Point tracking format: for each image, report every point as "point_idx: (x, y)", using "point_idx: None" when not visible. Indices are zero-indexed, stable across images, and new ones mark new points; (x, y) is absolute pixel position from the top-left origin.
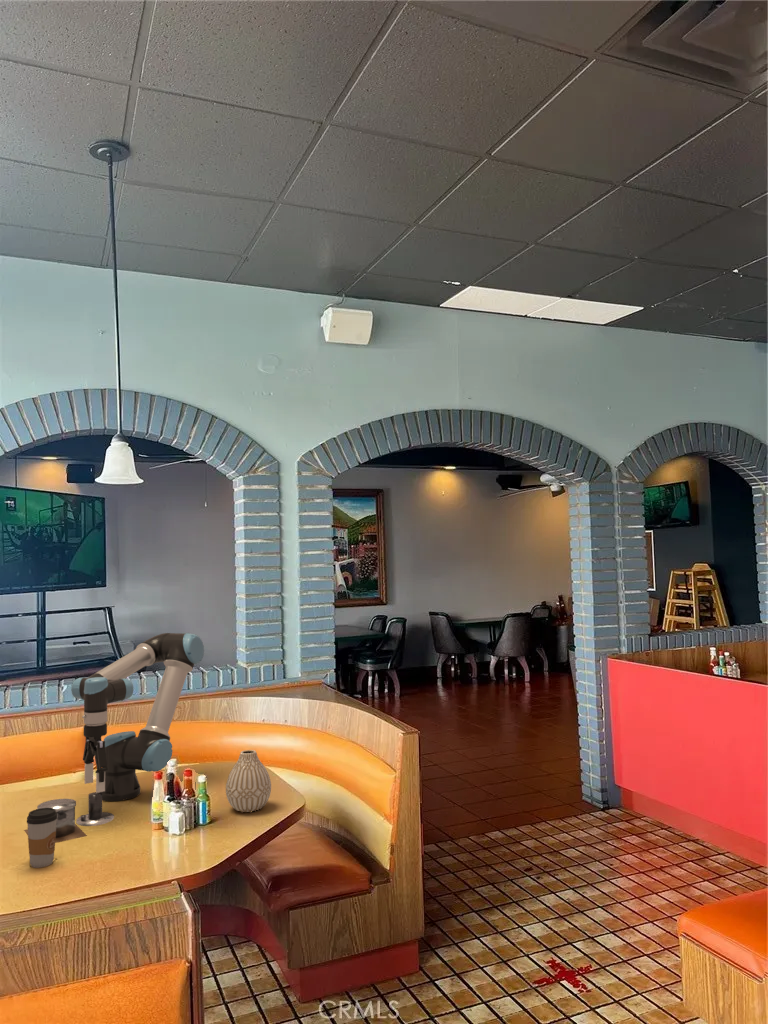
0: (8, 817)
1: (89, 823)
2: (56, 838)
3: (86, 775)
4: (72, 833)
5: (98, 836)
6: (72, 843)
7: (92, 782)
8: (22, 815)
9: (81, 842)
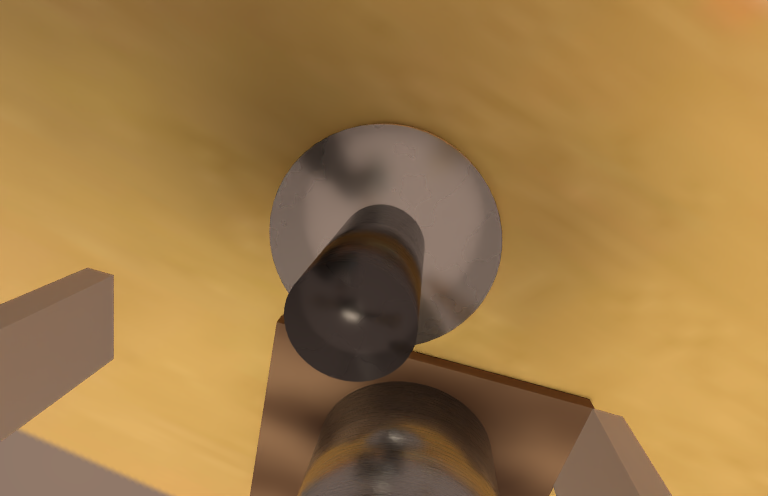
0: None
1: (448, 320)
2: None
3: (15, 414)
4: (487, 426)
5: (623, 354)
6: None
7: (113, 283)
8: None
9: None
